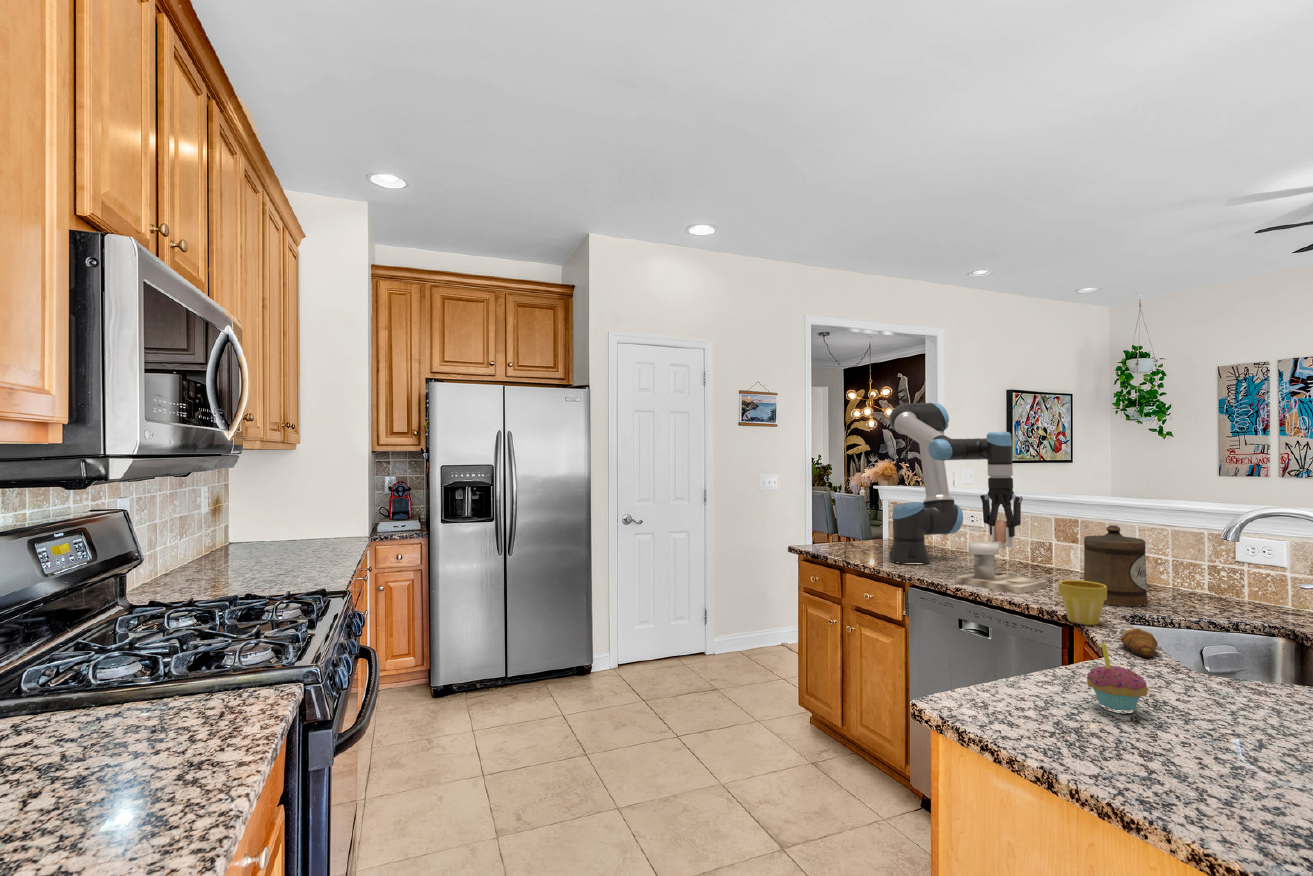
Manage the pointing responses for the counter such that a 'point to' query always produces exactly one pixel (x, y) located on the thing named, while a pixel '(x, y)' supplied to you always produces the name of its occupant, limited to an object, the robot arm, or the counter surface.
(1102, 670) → the cupcake
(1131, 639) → the croissant
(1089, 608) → the plant pot
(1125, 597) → the wooden container
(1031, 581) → the post base
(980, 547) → the crank handle
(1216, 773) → the counter surface
